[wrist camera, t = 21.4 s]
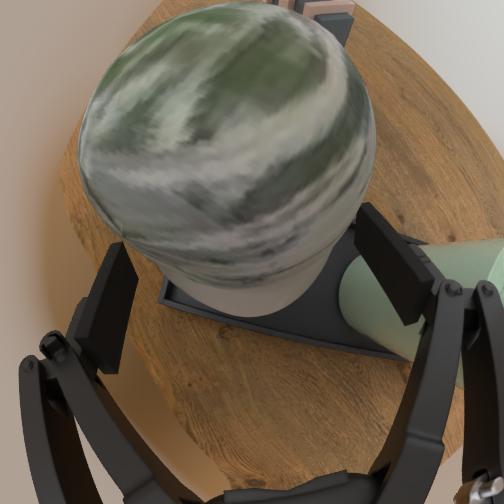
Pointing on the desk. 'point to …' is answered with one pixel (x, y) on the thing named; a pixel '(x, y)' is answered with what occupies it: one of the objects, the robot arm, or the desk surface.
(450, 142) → the desk surface
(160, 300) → the tray
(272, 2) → the woven storage basket
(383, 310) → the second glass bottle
